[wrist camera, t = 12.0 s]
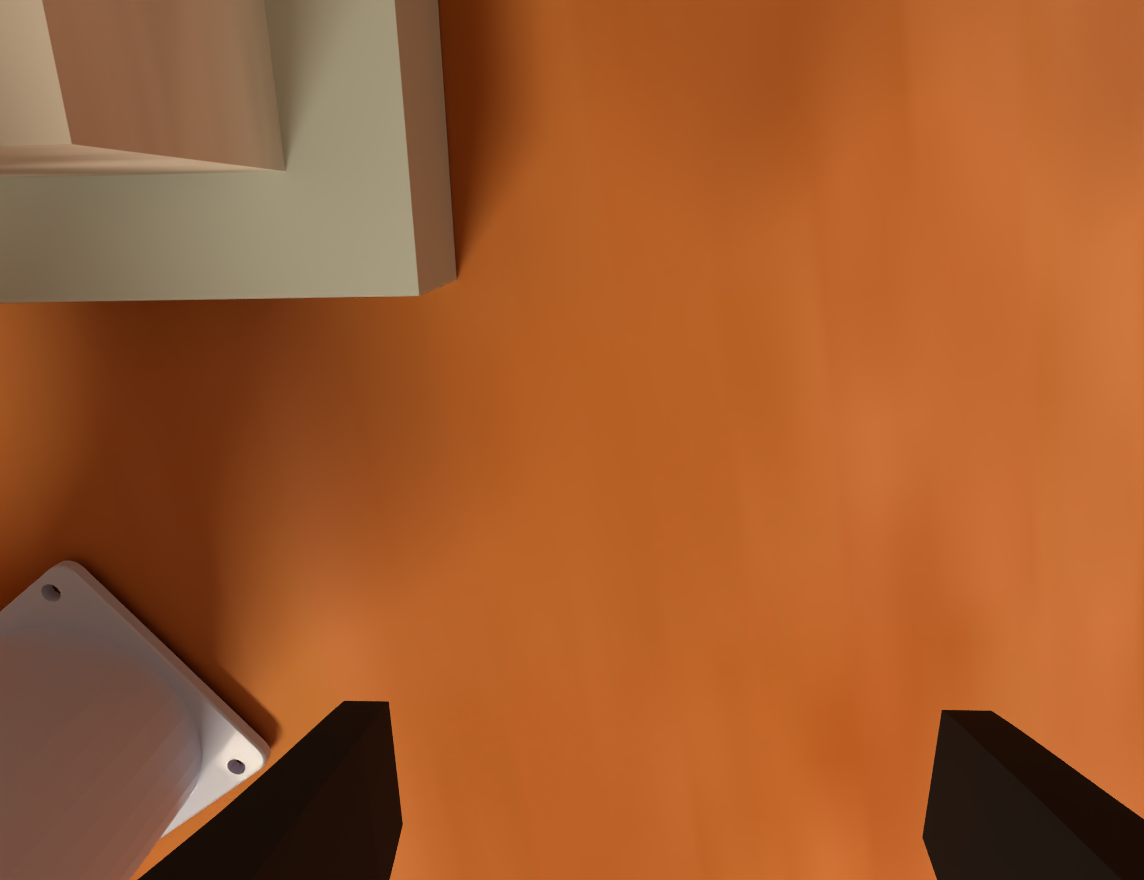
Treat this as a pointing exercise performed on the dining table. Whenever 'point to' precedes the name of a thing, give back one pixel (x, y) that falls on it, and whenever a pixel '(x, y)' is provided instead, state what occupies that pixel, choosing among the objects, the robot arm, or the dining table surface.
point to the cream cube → (136, 88)
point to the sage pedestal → (270, 185)
